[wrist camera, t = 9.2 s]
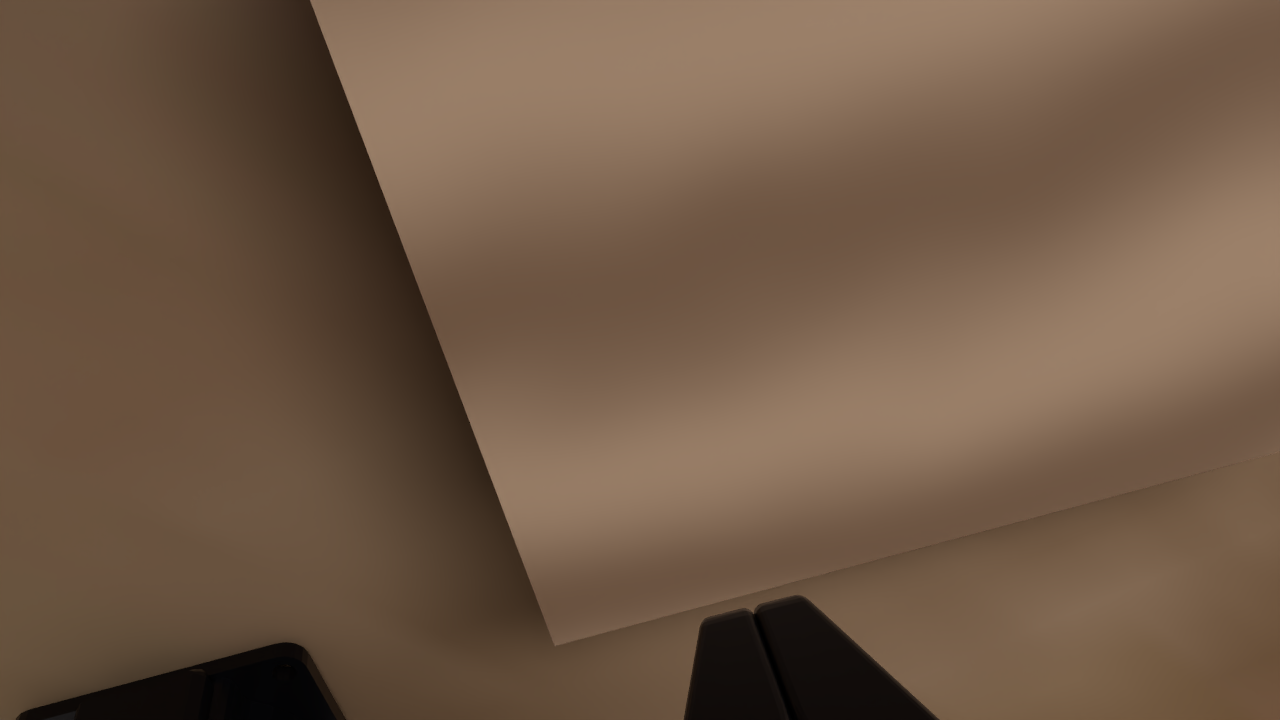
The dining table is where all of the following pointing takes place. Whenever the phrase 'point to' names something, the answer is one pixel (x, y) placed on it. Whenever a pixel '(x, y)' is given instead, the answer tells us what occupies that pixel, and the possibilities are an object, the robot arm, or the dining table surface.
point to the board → (825, 267)
